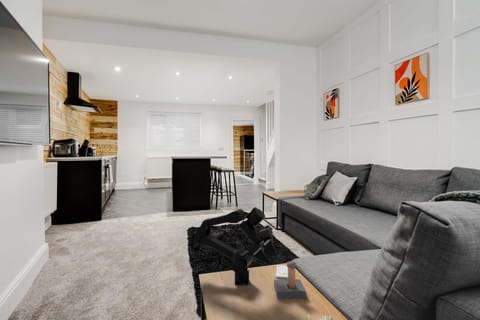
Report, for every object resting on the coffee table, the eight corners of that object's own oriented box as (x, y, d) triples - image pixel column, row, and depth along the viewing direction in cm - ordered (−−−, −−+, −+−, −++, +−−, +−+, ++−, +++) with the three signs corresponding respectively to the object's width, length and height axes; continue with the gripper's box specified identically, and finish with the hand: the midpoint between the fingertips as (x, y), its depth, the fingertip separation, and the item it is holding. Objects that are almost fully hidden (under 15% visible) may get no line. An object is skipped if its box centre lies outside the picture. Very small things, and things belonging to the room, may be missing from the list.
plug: (288, 295, 103) (287, 265, 103) (286, 291, 106) (286, 261, 106) (297, 295, 103) (296, 265, 103) (295, 290, 106) (294, 261, 106)
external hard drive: (292, 269, 129) (292, 280, 117) (276, 268, 131) (275, 279, 118) (292, 266, 129) (292, 277, 117) (276, 265, 131) (275, 276, 118)
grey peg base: (277, 298, 101) (276, 291, 101) (274, 286, 111) (273, 279, 111) (305, 298, 101) (305, 291, 101) (300, 285, 111) (300, 279, 111)
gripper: (253, 226, 102) (279, 256, 97) (269, 216, 119) (291, 241, 114) (237, 241, 106) (261, 272, 101) (254, 230, 123) (275, 255, 118)
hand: (273, 259), depth 108 cm, fingers open, 9 cm apart
